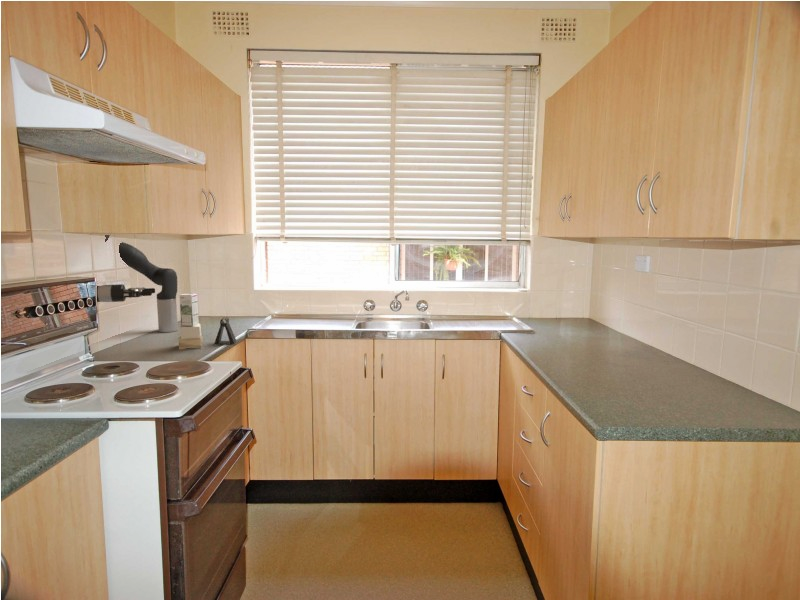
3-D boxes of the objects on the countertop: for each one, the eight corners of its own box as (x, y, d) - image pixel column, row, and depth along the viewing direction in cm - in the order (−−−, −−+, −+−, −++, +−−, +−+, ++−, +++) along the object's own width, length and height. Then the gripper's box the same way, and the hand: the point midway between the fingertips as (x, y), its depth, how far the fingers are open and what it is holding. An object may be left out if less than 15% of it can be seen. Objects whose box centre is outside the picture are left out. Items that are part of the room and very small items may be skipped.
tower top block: (182, 335, 222) (181, 324, 221) (200, 334, 224) (200, 323, 224) (180, 338, 214) (180, 327, 213) (200, 337, 217) (199, 326, 216)
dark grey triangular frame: (214, 344, 224) (213, 319, 223) (216, 341, 230) (215, 317, 228) (234, 344, 226) (233, 318, 224) (236, 341, 231) (235, 316, 230)
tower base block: (181, 345, 223) (181, 335, 222) (202, 344, 225) (202, 333, 225) (179, 349, 214) (178, 338, 214) (200, 348, 217) (200, 337, 216)
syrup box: (199, 324, 221) (197, 293, 220) (193, 326, 215) (191, 294, 214) (187, 324, 221) (185, 293, 220) (180, 326, 216) (178, 294, 214)
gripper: (106, 286, 201) (149, 285, 206) (115, 282, 215) (155, 281, 220) (108, 304, 202) (151, 302, 207) (116, 299, 216) (156, 297, 221)
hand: (153, 291), depth 213 cm, fingers open, 8 cm apart
